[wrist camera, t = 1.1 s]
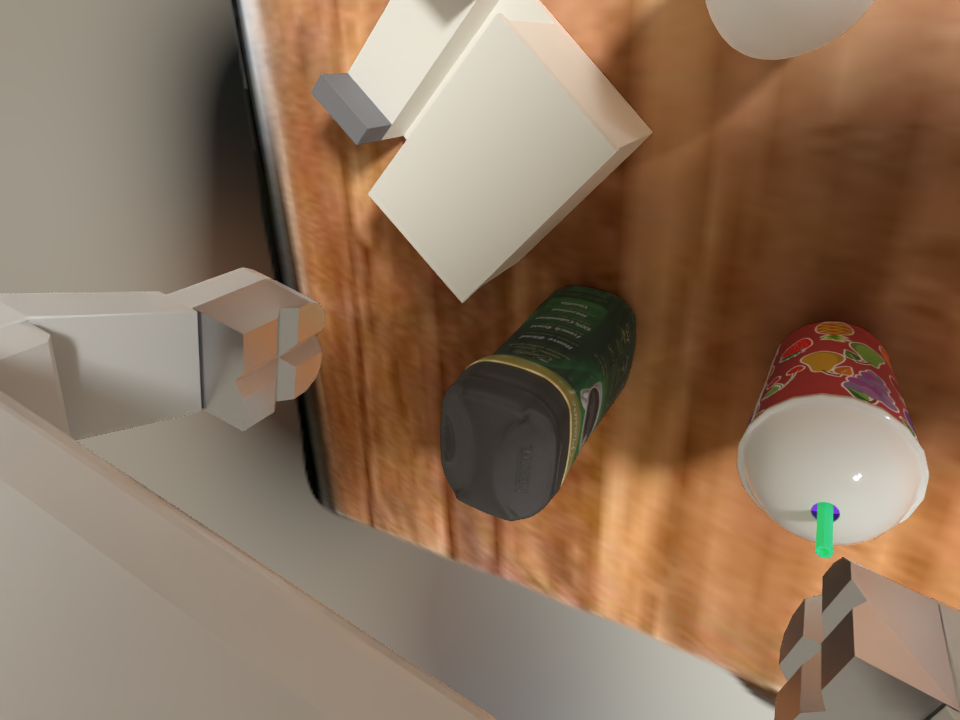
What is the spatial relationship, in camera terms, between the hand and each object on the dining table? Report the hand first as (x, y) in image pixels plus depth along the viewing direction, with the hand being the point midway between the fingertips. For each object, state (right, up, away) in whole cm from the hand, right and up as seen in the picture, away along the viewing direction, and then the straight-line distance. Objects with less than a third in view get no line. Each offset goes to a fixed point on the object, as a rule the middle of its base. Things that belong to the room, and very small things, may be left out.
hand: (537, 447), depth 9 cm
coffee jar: (+8, +3, +41) cm, 42 cm away
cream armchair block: (+1, +20, +36) cm, 41 cm away
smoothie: (+23, +1, +33) cm, 40 cm away
